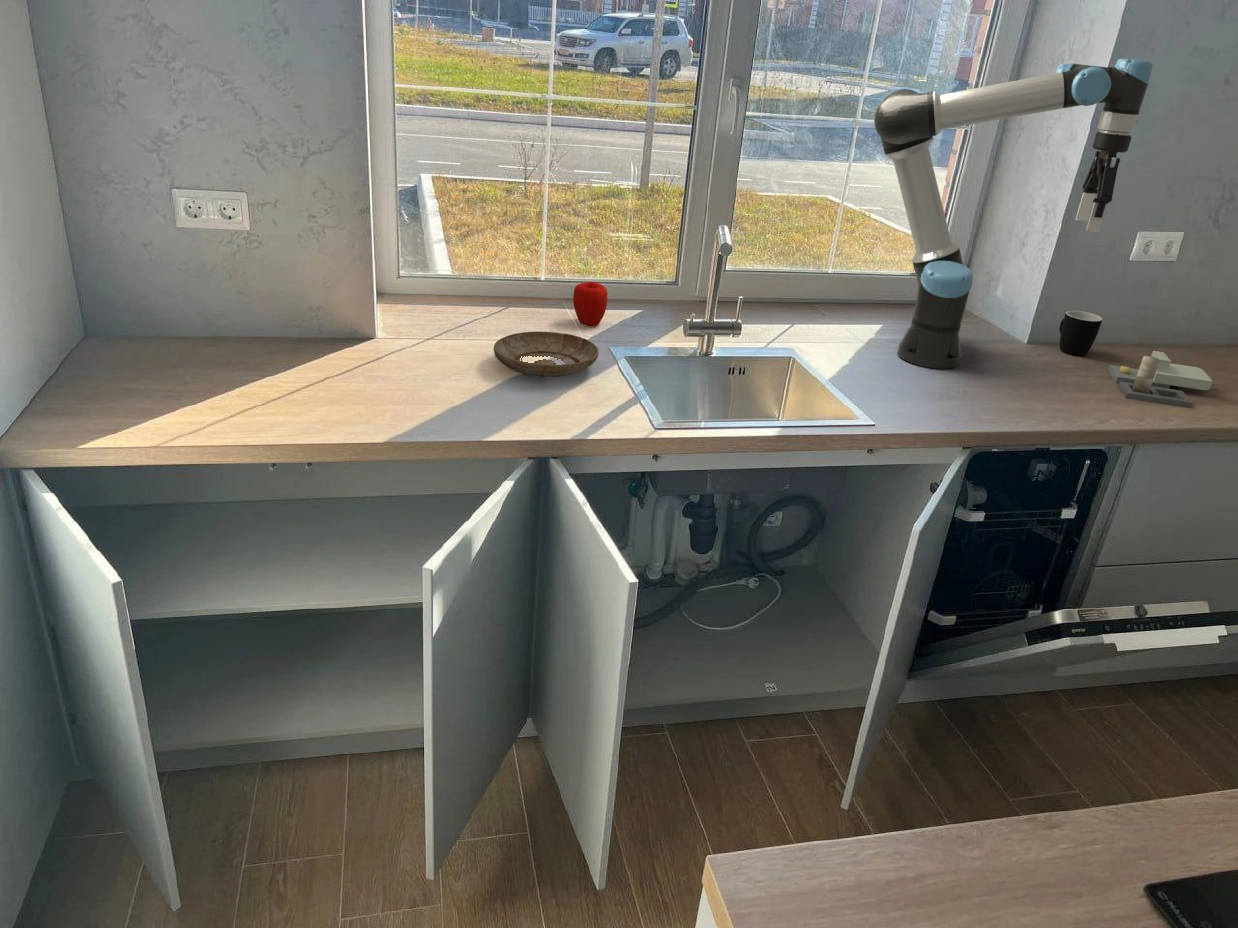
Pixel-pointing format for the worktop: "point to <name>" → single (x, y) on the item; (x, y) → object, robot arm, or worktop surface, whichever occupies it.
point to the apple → (590, 302)
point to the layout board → (1128, 375)
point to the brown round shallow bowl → (546, 353)
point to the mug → (1078, 332)
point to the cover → (1180, 374)
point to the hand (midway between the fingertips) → (1086, 226)
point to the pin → (1145, 374)
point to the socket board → (1156, 395)
